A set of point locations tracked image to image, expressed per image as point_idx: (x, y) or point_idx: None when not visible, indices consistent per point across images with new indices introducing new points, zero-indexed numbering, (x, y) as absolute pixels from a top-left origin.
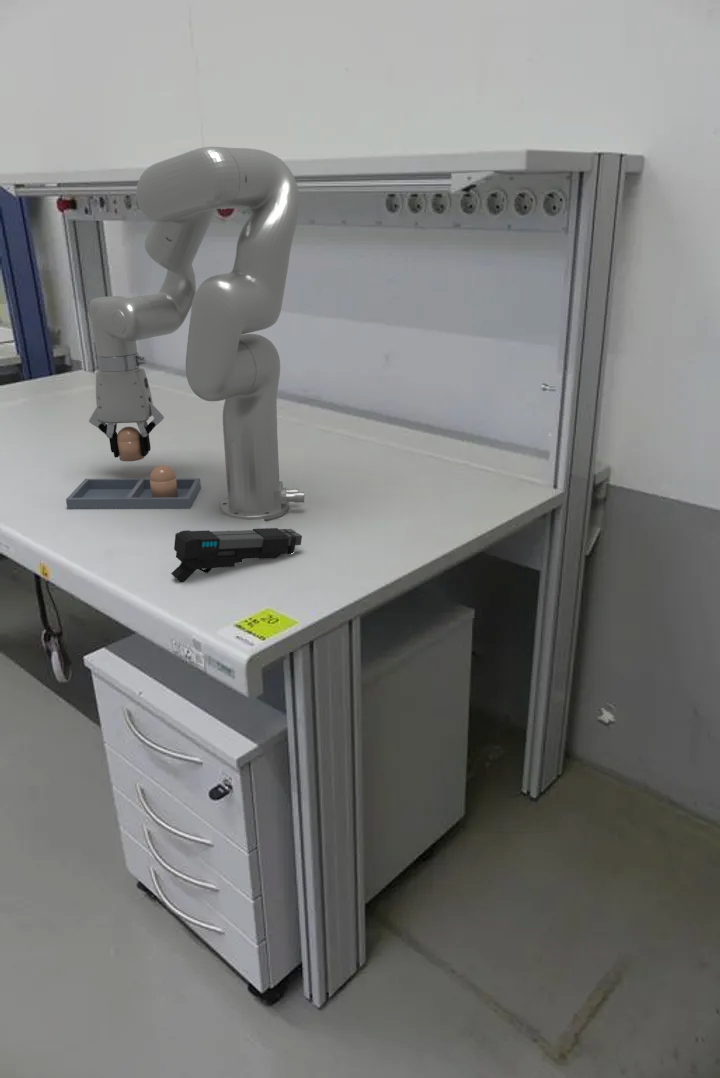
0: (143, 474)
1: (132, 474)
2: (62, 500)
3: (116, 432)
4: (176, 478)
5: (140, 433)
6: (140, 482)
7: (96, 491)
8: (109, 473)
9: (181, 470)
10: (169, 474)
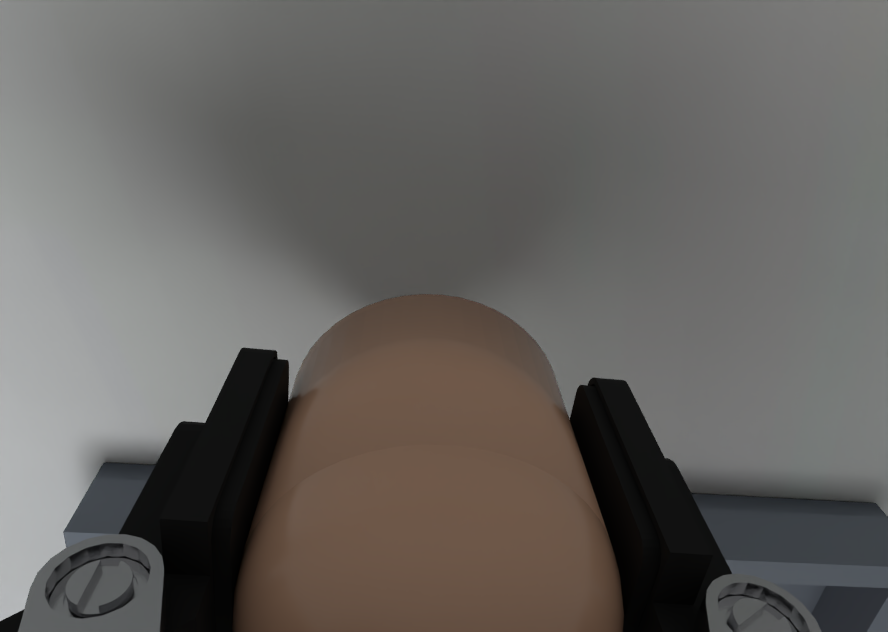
0: (472, 118)
1: (365, 105)
2: (16, 594)
3: (190, 627)
4: (771, 566)
5: (620, 608)
6: None
7: None
8: (117, 41)
9: (838, 33)
10: None
